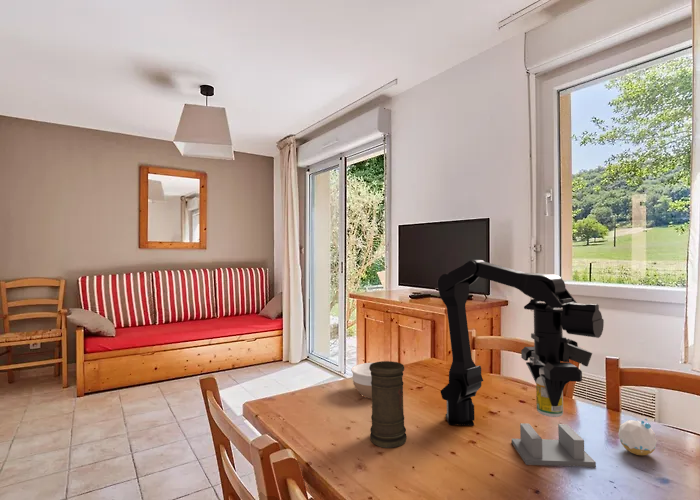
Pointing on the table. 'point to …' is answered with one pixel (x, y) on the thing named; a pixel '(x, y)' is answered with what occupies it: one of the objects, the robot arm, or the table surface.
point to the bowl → (363, 379)
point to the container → (387, 404)
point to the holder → (552, 448)
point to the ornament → (637, 437)
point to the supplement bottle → (546, 399)
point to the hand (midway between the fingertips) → (549, 401)
